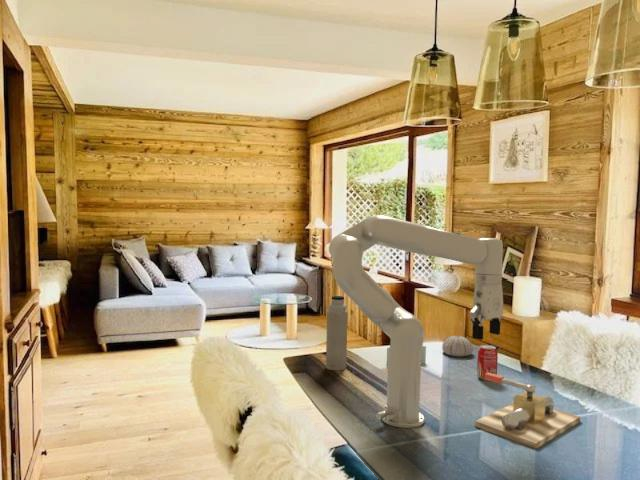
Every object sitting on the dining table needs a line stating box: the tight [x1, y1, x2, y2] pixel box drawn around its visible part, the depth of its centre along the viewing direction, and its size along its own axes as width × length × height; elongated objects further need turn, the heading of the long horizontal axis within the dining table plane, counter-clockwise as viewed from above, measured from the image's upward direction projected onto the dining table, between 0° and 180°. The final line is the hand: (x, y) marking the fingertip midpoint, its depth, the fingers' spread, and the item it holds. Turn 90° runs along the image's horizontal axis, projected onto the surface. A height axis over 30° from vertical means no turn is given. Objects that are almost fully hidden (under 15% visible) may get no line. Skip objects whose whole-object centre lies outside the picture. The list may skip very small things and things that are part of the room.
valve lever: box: [484, 372, 536, 394], centre depth 153 cm, size 15×3×2 cm, turn 41°
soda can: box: [476, 344, 499, 381], centre depth 189 cm, size 7×7×12 cm
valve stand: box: [474, 391, 581, 450], centre depth 148 cm, size 28×18×9 cm, turn 131°
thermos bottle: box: [325, 295, 349, 371], centre depth 198 cm, size 8×8×28 cm
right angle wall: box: [386, 345, 427, 366], centre depth 206 cm, size 12×12×8 cm
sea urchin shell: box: [442, 335, 474, 358], centre depth 222 cm, size 13×14×8 cm
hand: (486, 336), depth 152 cm, fingers open, 9 cm apart
